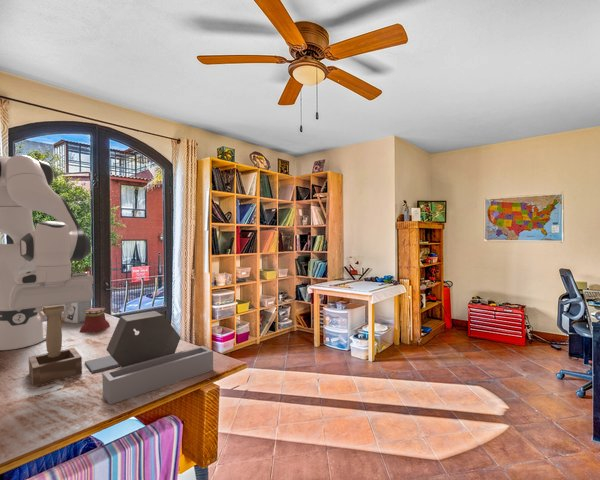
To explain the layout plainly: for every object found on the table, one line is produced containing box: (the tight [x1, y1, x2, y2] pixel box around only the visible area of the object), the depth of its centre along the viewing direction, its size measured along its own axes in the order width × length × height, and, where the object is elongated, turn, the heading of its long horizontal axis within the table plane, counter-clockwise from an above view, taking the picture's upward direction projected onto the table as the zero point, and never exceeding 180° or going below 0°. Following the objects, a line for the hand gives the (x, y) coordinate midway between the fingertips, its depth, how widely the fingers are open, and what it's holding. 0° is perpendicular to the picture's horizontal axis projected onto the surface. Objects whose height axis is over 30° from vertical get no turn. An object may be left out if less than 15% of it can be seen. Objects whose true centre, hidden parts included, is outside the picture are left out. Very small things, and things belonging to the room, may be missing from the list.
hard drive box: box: [61, 300, 92, 324], centre depth 159 cm, size 16×8×20 cm, turn 73°
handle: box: [42, 305, 64, 358], centre depth 98 cm, size 5×6×15 cm
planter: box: [106, 310, 181, 368], centre depth 99 cm, size 17×8×21 cm
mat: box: [84, 354, 121, 374], centre depth 105 cm, size 10×10×1 cm
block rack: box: [101, 345, 214, 405], centre depth 92 cm, size 7×29×6 cm, turn 135°
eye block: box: [28, 347, 83, 387], centre depth 98 cm, size 12×12×5 cm
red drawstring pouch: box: [79, 307, 111, 333], centre depth 144 cm, size 9×9×9 cm
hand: (53, 319), depth 98 cm, fingers closed on handle, 3 cm apart
